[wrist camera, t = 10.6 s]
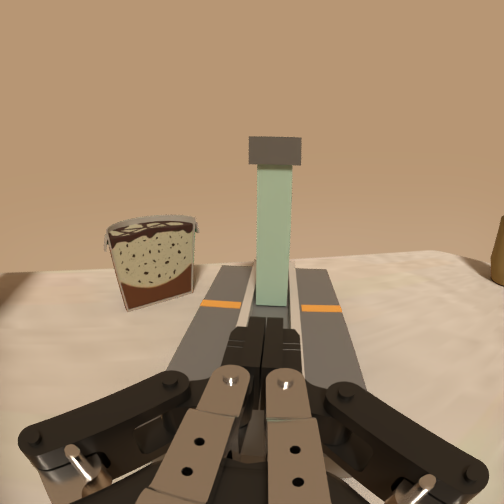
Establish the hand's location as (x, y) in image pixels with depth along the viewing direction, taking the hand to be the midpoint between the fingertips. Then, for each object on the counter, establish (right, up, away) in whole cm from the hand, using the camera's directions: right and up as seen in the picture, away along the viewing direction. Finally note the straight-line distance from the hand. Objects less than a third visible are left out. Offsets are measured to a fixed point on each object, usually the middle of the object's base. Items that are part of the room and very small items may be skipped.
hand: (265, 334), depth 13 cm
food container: (-14, -2, +25) cm, 29 cm away
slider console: (+1, -6, +14) cm, 15 cm away
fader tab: (+2, -1, +18) cm, 18 cm away
